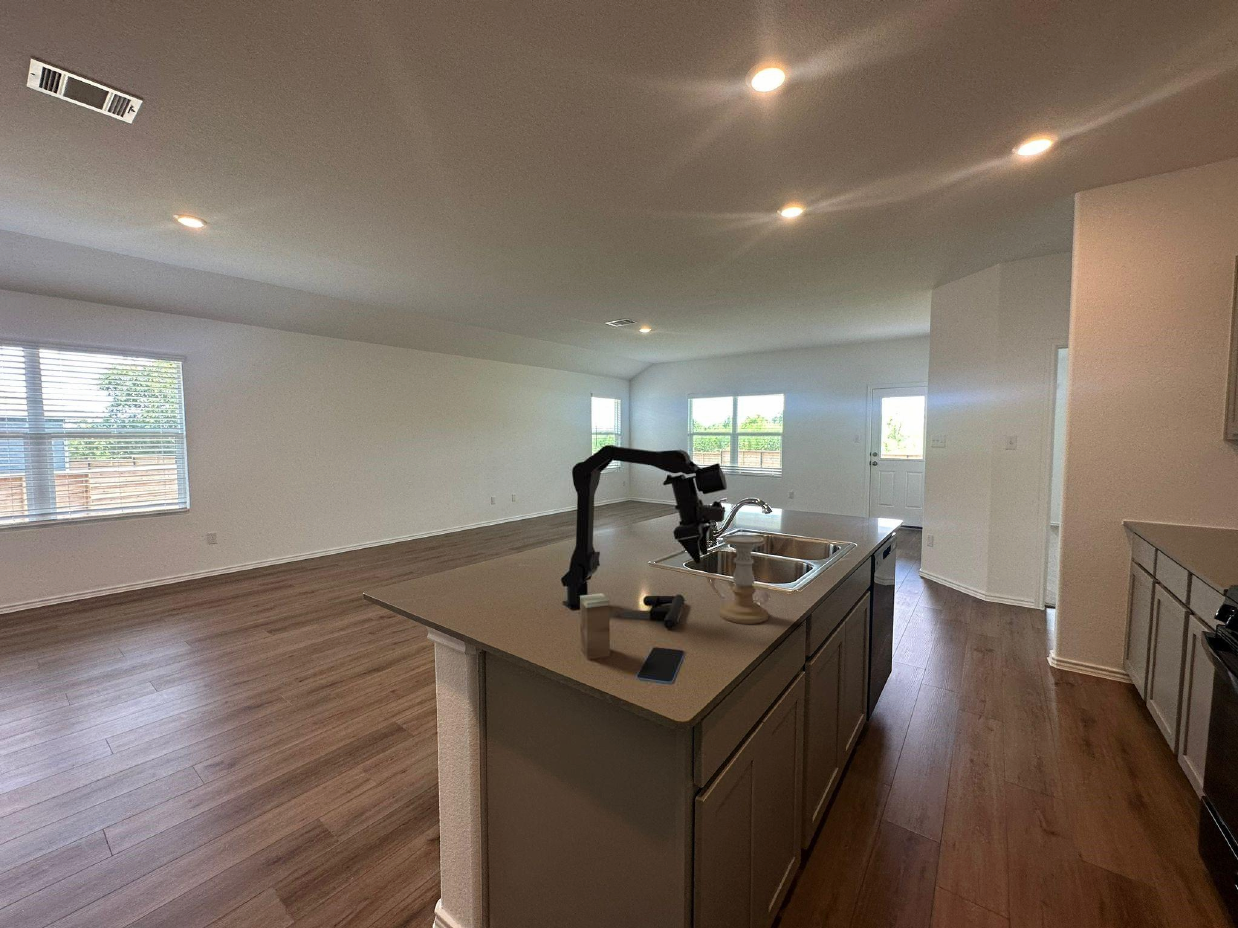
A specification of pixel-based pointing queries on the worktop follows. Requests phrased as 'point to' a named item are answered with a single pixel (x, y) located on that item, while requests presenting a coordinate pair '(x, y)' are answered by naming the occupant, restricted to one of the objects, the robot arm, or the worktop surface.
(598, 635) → the beige wooden block
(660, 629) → the worktop surface
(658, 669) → the smartphone
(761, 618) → the candle holder
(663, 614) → the door handle
